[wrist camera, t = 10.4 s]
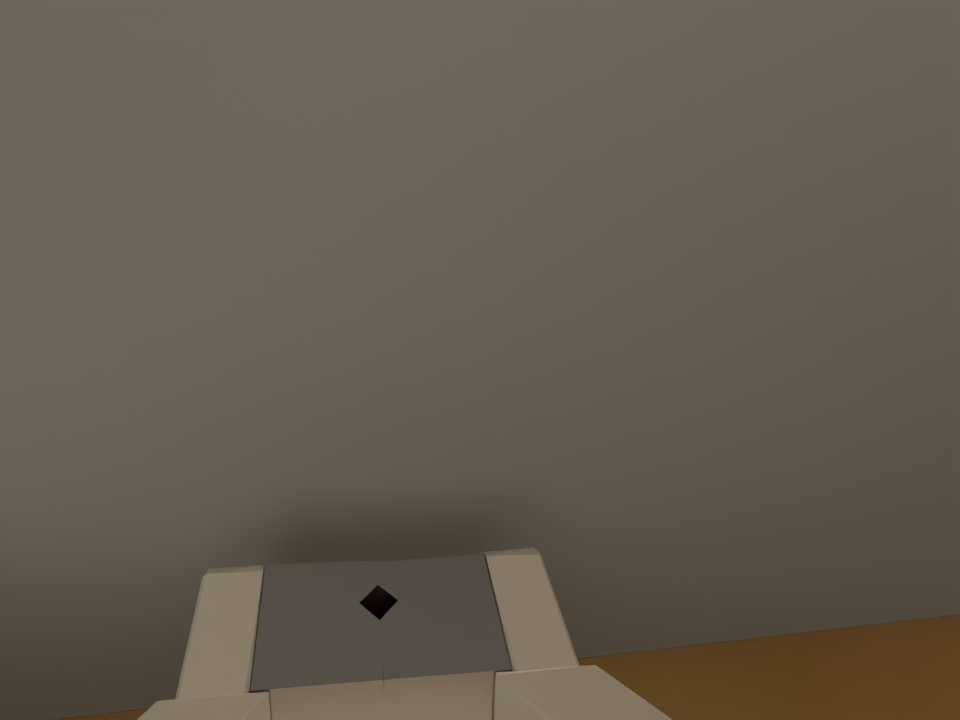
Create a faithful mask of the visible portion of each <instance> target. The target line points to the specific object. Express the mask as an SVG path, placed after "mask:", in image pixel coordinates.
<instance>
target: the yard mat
mask: <svg viewBox="0 0 960 720" xmlns="http://www.w3.org/2000/svg"><path fill="white" fill-rule="evenodd" d="M531 547H534V548H535V549H536V550H538V551H539V552H540V554H541V557H542V560H543V562H544V565H545V568H546V571H547V574H548V577H549V579H550V582H551V585H552V588H553V591H554V594H555V597H556V599H557V602H558V605H559V608H560V611H561V614H562V617H563V619H564V622H565V625H566V628H567V631H568V634H569V637H570V639H571V642H572V645H573V648H574V651H575V654H576V657H577V659H580V658H589V657H597V656H606V655H615V654H623V653H632V652H641V651H649V650H658V649H667V648H675V647H684V646H692V645H701V644H710V643H718V642H727V641H736V640H744V639H753V638H761V637H770V636H779V635H787V634H796V633H805V632H813V631H822V630H831V629H839V628H848V627H856V626H865V625H874V624H882V623H891V622H900V621H908V620H917V619H926V618H934V617H943V616H951V615H960V0H0V720H54V719H62V718H71V717H80V716H88V715H97V714H105V713H114V712H123V711H131V710H140V709H149V708H150V707H151V706H152V705H153V704H154V703H155V702H157V701H163V700H173V699H175V698H176V694H177V689H178V685H179V680H180V676H181V671H182V667H183V662H184V658H185V653H186V649H187V644H188V640H189V635H190V631H191V626H192V622H193V617H194V613H195V608H196V604H197V599H198V595H199V590H200V586H201V581H202V578H203V576H204V575H205V573H206V572H207V571H208V569H209V568H224V567H241V566H257V565H262V566H264V567H266V566H267V565H277V564H301V563H325V562H348V561H372V560H376V561H390V560H403V559H417V558H430V557H444V556H458V555H471V554H482V552H489V551H500V550H510V549H521V548H531Z"/></svg>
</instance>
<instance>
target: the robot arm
mask: <svg viewBox="0 0 960 720" xmlns="http://www.w3.org/2000/svg"><path fill="white" fill-rule="evenodd" d="M137 720H673V719H671V718H670V717H668V716H667V715H666V714H664V713H663V712H661V711H660V710H659V709H657V708H656V707H654V706H653V705H652V704H650V703H649V702H647V701H646V700H645V699H643V698H642V697H640V696H639V695H638V694H636V693H635V692H633V691H632V690H631V689H629V688H628V687H626V686H625V685H624V684H622V683H621V682H619V681H618V680H617V679H615V678H614V677H612V676H611V675H610V674H608V673H607V672H605V671H604V670H603V669H601V668H600V667H598V666H597V665H588V666H580V665H579V662H578V659H577V657H576V654H575V651H574V648H573V645H572V642H571V639H570V637H569V634H568V631H567V628H566V625H565V622H564V619H563V617H562V614H561V611H560V608H559V605H558V602H557V599H556V597H555V594H554V591H553V588H552V585H551V582H550V579H549V577H548V574H547V571H546V568H545V565H544V562H543V560H542V557H541V554H540V552H539V551H538V550H536V549H535V548H534V547H531V548H521V549H510V550H500V551H489V552H482V554H471V555H458V556H444V557H430V558H417V559H403V560H390V561H376V560H372V561H348V562H325V563H301V564H277V565H267V566H266V567H264V566H262V565H257V566H241V567H224V568H209V569H208V571H207V572H206V573H205V575H204V576H203V578H202V581H201V586H200V590H199V595H198V599H197V604H196V608H195V613H194V617H193V622H192V626H191V631H190V635H189V640H188V644H187V649H186V653H185V658H184V662H183V667H182V671H181V676H180V680H179V685H178V689H177V694H176V698H175V699H173V700H163V701H157V702H155V703H154V704H153V705H152V706H151V707H150V708H149V709H148V710H146V711H145V712H144V713H143V714H142V715H141V716H140V717H139V718H138V719H137Z"/></svg>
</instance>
